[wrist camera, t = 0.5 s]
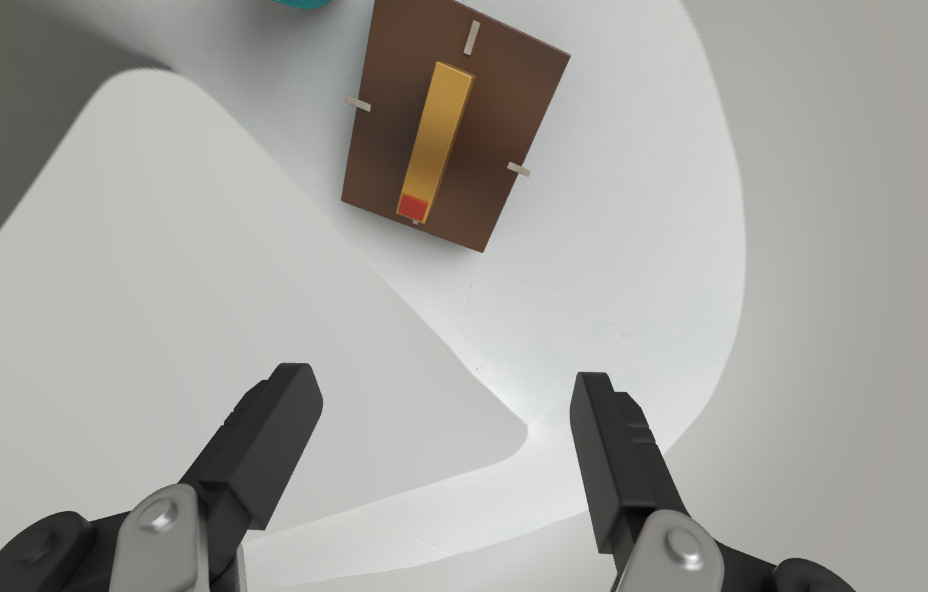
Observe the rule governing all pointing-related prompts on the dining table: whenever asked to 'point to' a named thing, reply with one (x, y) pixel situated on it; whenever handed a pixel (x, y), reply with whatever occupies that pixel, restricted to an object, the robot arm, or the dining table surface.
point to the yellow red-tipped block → (434, 139)
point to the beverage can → (304, 3)
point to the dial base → (483, 124)
